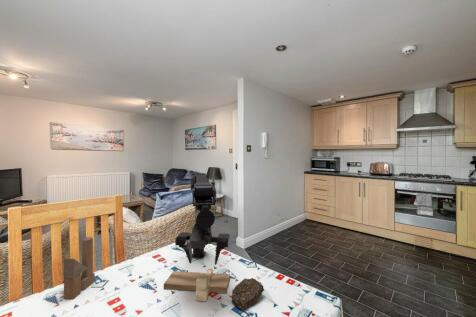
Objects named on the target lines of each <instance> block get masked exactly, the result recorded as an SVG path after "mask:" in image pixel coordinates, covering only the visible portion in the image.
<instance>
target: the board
mask: <svg viewBox="0 0 476 317" xmlns="http://www.w3.org/2000/svg"><path fill="white" fill-rule="evenodd" d="M200 273H201V272H199V271H198V272H193V271H181V270H180V271H178V270H177V271H176V270H173V271H172V272H171V273H170V274H169V276H168V277H167V279H166V280H165V281H164V283H163V290H168V291H169V290H171V291H185V292H187V291H188V292H196V280H197V278H198V276H199V274H200ZM230 281H231V274H230V273H229V274H228V273H215V272H214V273H212V276H211V278H210V292H209V293H214V294H215V293H217V294H227V293H228V288H229V285H230Z"/></svg>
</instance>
